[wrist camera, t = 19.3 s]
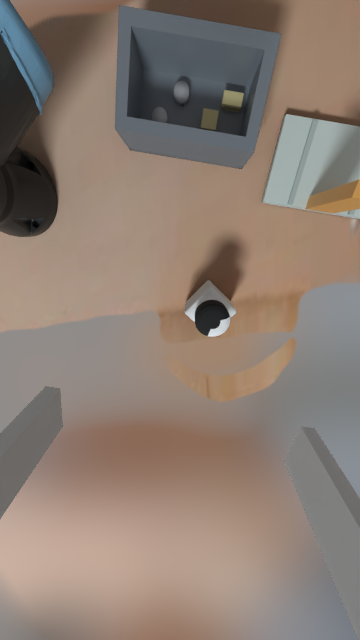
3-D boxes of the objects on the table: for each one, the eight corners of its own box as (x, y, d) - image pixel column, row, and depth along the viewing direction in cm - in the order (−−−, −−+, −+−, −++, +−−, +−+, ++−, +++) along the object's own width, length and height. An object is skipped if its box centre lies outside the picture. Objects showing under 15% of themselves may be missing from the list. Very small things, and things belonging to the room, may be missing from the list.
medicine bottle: (184, 302, 47) (183, 322, 36) (208, 278, 45) (213, 292, 34) (207, 323, 49) (212, 348, 38) (231, 301, 47) (243, 321, 36)
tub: (130, 150, 38) (114, 128, 30) (135, 56, 33) (118, 5, 26) (241, 168, 38) (254, 152, 30) (261, 78, 33) (281, 33, 26)
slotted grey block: (260, 203, 40) (292, 187, 27) (282, 119, 35) (332, 53, 23) (367, 220, 40) (449, 213, 27) (402, 139, 35) (520, 86, 23)
